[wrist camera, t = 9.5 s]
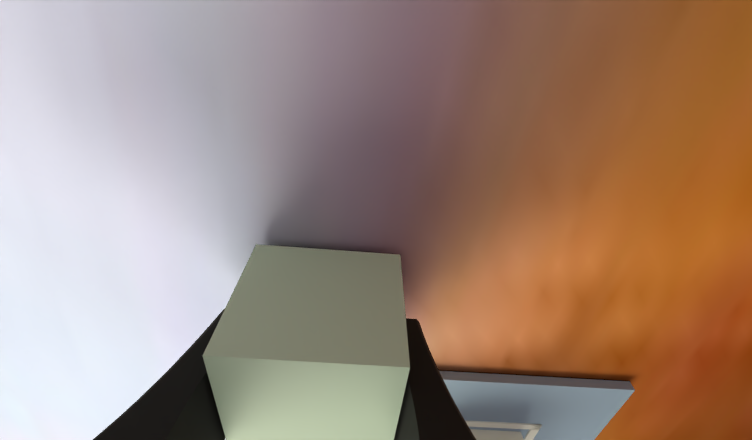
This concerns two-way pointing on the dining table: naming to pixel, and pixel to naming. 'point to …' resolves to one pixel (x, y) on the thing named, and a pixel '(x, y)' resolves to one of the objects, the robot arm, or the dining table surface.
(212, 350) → the sage block
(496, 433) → the cream block
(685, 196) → the dining table surface
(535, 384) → the plate
